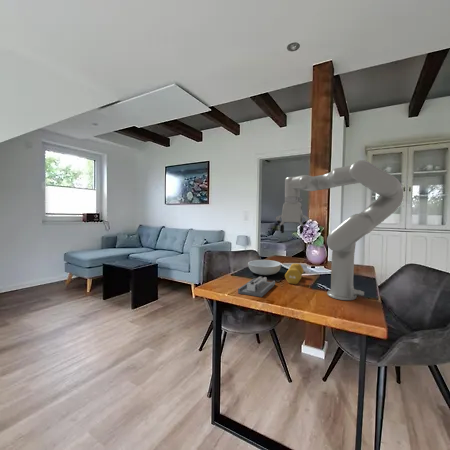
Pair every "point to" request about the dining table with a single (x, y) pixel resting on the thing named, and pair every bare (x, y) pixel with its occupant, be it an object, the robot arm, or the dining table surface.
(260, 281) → the grey grooved bar
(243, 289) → the rest tray
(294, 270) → the dumbbell
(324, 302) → the dining table surface
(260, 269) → the serving bowl
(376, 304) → the dining table surface
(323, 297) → the dining table surface
